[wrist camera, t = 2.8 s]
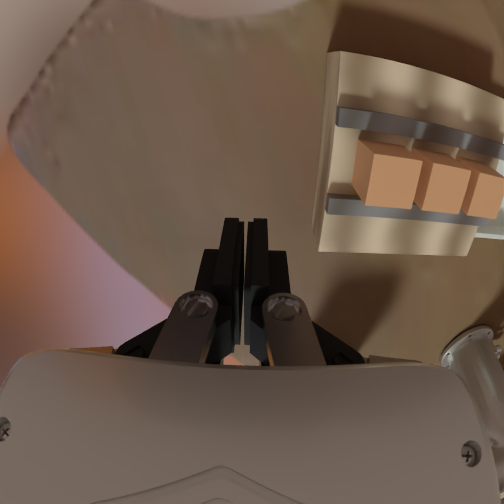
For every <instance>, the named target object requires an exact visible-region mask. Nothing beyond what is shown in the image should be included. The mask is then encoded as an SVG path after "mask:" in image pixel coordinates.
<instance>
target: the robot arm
mask: <svg viewBox="0 0 504 504" xmlns="http://www.w3.org/2000/svg"><path fill="white" fill-rule="evenodd" d="M243 289H244V344H245V345H250V353H251V354H252V355H253V356H254V357H256V358H257V359H258V360H259V366H241V365H223V358H224V357H226V356H227V355H229V354H230V353H234V345H235V344H238V345H240V336H241V320H242V304H243ZM493 336H494V333H493V331H492V329H491V328H490V327H489V326H485V325H482V326H477V327H474V328H472V329H470V330H468V331H466V332H464V333H463V334H461V335H460V336H458V337H457V338H456V339H454V340H453V341H452V342H451V343H450V344H449V345H448V346H447V347H446V348H445V350H444V351H443V353H442V355H441V357H440V362H441V365H442V366H438V365H434V364H429V363H423V362H420V361H416V360H407V359H398V358H389V357H381V356H373V355H369V357H368V358H365V357H362V355H361V354H359V353H358V352H357V351H356V350H354V349H353V348H351V347H350V346H348V345H347V344H345V343H344V342H342V341H341V340H339V339H338V338H336V337H335V336H333V335H332V334H330V333H329V332H327V331H326V330H324V329H323V328H321V327H320V326H318V325H317V324H315V323H314V322H312V321H311V318H310V315H309V312H308V310H307V307H306V305H305V303H304V301H303V300H301V299H300V298H299V297H297V296H295V295H293V294H291V292H290V282H289V273H288V264H287V255H286V251H271V250H268V228H267V219H261V218H254V222H248V232H247V248H246V263H245V279H244V222H239V218H225V221H224V226H223V231H222V236H221V241H220V247H219V249H205V250H204V253H203V257H202V261H201V265H200V269H199V273H198V277H197V281H196V285H195V289H194V291H190V292H187V293H185V294H183V295H181V296H180V297H179V298H178V299H177V300H176V302H175V304H174V306H173V308H172V310H171V312H170V314H169V316H168V318H167V319H165V320H164V321H162V322H160V323H158V324H157V325H155V326H153V327H151V328H150V329H148V330H146V331H144V332H143V333H141V334H139V335H137V336H136V337H134V338H132V339H130V340H129V341H127V342H125V343H124V344H122V345H121V346H120V347H119V348H118V349H114V348H113V347H112V346H108V347H90V348H70V349H61V348H60V349H46V350H41V351H35V352H32V353H29V354H27V355H25V356H23V357H22V358H20V359H19V360H18V361H17V362H16V363H15V365H14V366H13V367H12V369H11V370H10V372H9V374H8V375H7V377H6V379H5V381H4V382H3V384H2V386H1V388H0V504H504V498H503V499H501V498H500V493H502V492H504V370H503V368H502V366H501V364H500V361H499V357H500V352H499V351H501V350H502V346H501V345H496V346H495V345H494V343H493V341H492V340H493ZM450 369H451V370H450ZM490 443H491V444H492V446H491V444H490Z"/></svg>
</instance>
